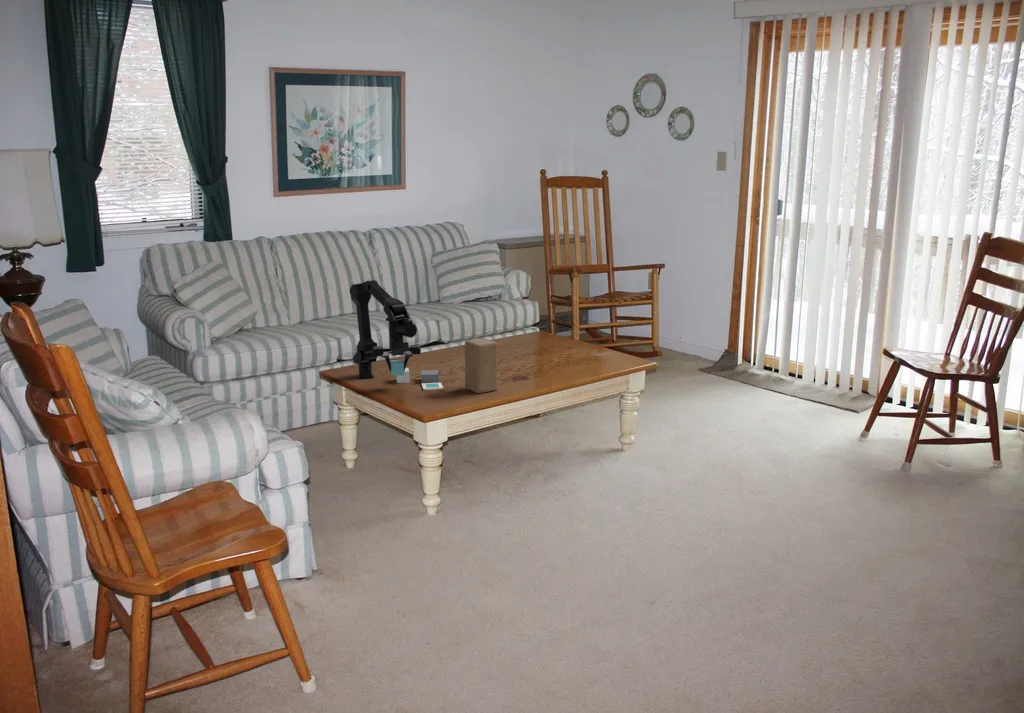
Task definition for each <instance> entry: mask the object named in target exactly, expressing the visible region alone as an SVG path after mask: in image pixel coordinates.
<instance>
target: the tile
mask: <svg viewBox="0 0 1024 713" xmlns="http://www.w3.org/2000/svg"><path fill="white" fill-rule="evenodd" d="M442 384H443V383H442V382H440V381H439V383H422V382H421V387H422V389H423V391H434V390H435V391H437V390H438V391H439V390H444V386H443V385H442Z"/></svg>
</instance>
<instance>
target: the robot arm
mask: <svg viewBox="0 0 1024 713" xmlns="http://www.w3.org/2000/svg"><path fill="white" fill-rule="evenodd" d="M349 293H350V299H351V301H352V302H353V303H354V304H355V309H356V317H357V327H358V336H359V340H358V342H357V345H356V352H355V354H354V355H353V357H352V362H353V364H355V365H358V366H357V367H358V370H357V371H358V373H357V379H374V376H375V375H374V373H373V363H375V362H377V360H378V357H381V358H382V359H384V360H385V361H386V364H387V366H388V370H389V372H390V373H391V365H390V361H391V360H390V354H391V356H393V357H395V356H403V362H404V371H405V368H407V365H408V362H409V359H410V358H411V357H413V356H414V355H422V354H421V352H422V351H421V346H420V345H419V344H409V342H404V341H405V340H404V338H405V337H407V338H414V337H415V336H416V335H417V332H418V328H417V326H416V323H414V322H413V319H411V317H410V313H409V311H408V309H407V307H406V305H405V303H404V302H403V301H402V300H400V299H398V298H395V297H392V296H391V295H390V293H388V292H387V291H386V290H385V288H383V287H382V286H381V285H380V284H379V282H378V281H377V280H375V279H372V280H370V279H369V280H366V281H364V282H360V283H354V284H351V286H350V287H349ZM372 297H373V298H375V299H376V301H378V303H380V304H381V306H382V307H383V312H384V313H385V315H386V316H387V317H386V318H385V321H386V322H388V341H389V342H388V345H389V346H388V348H387V347H386V348H385V347H384V346H383V345H380V346H379V345H378V343H377V342H375V340H374V339H373V338H372V328H371V319H370V311H369V303H370V300H371V298H372Z"/></svg>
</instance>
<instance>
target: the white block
mask: <svg viewBox="0 0 1024 713" xmlns="http://www.w3.org/2000/svg"><path fill="white" fill-rule="evenodd" d="M395 377H396V383H397V384H408V383H410V382H411V381H410V379H411V378H410V370H409V367H406V368H405V371H404V375H396V376H395Z"/></svg>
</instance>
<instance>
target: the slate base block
mask: <svg viewBox="0 0 1024 713" xmlns="http://www.w3.org/2000/svg"><path fill="white" fill-rule="evenodd" d="M420 372H421V373H420V375H421V376H420V377H421V384H422V383H440V380H439V377H440V376H439V369H431V370H429V369H427V370H420Z"/></svg>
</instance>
